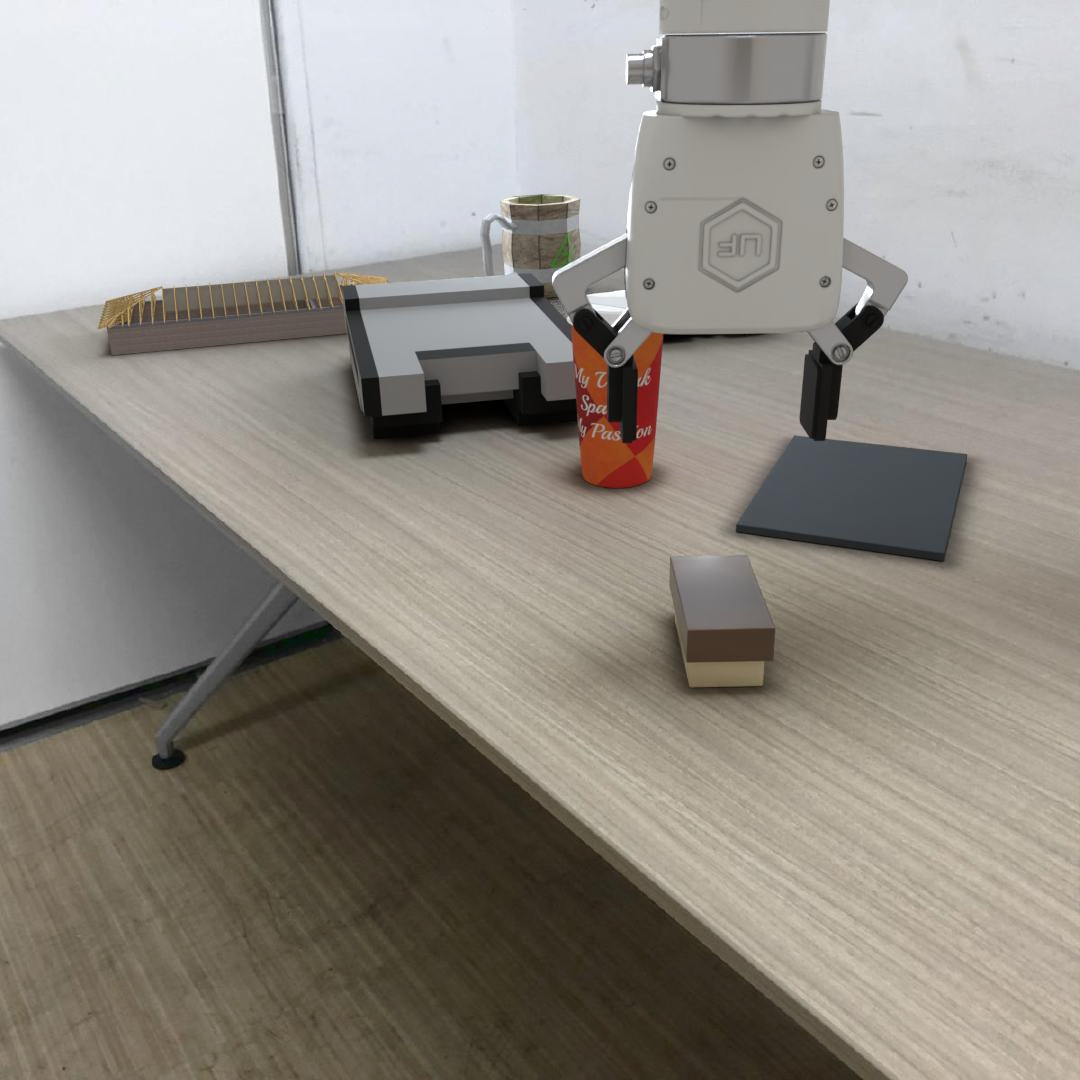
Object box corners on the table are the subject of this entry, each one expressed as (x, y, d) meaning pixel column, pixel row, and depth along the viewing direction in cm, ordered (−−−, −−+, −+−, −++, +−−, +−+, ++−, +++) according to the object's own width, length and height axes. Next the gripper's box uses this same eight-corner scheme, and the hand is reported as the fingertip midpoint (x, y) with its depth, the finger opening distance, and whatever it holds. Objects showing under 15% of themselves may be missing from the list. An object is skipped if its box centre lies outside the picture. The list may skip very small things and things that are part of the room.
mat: (793, 441, 95) (793, 435, 95) (966, 460, 90) (967, 453, 90) (735, 531, 79) (735, 524, 78) (943, 561, 74) (944, 553, 73)
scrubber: (668, 615, 68) (669, 555, 66) (744, 613, 68) (747, 554, 66) (685, 695, 60) (687, 630, 58) (771, 693, 60) (775, 628, 58)
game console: (368, 458, 94) (359, 364, 91) (348, 360, 123) (341, 286, 119) (605, 435, 98) (605, 344, 94) (533, 345, 126) (531, 273, 123)
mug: (544, 278, 160) (542, 192, 155) (598, 288, 153) (597, 198, 148) (459, 296, 151) (454, 205, 146) (512, 308, 144) (508, 212, 139)
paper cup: (555, 486, 87) (551, 309, 82) (587, 454, 94) (586, 287, 88) (651, 498, 85) (654, 315, 79) (677, 464, 91) (682, 293, 85)
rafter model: (388, 304, 148) (384, 257, 145) (407, 329, 135) (403, 278, 132) (110, 329, 139) (101, 279, 137) (103, 357, 127) (92, 304, 124)
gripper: (551, 85, 48) (554, 461, 55) (956, 79, 47) (906, 457, 55) (550, 78, 54) (553, 413, 62) (904, 74, 54) (866, 410, 61)
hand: (719, 433), depth 58 cm, fingers open, 9 cm apart
